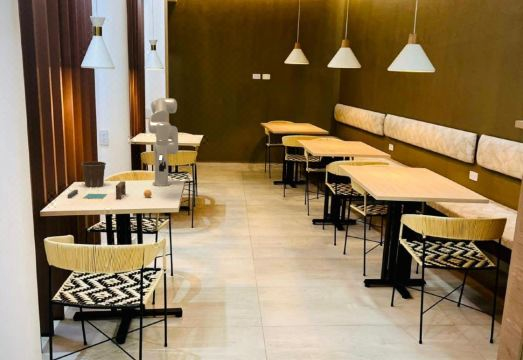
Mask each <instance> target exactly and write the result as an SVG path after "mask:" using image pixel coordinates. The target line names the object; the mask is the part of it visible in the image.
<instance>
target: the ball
mask: <svg viewBox="0 0 523 360" xmlns="http://www.w3.org/2000/svg"><path fill="white" fill-rule="evenodd" d="M152 194H153V192H152V190H150V189H145V190H144V192H143V196H144V197H145V198H147V199H148V198H150V197H152Z"/></svg>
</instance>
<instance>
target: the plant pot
mask: <svg viewBox="0 0 523 360" xmlns="http://www.w3.org/2000/svg"><path fill="white" fill-rule="evenodd" d="M106 165H107V163H106V162H105V161H85V162H82V163H81V167H82V170H83V171H82V172H83V173H82V174H83V178H84V186H85V187H86V186H87V187H86V188H90V187H92V188H91V189H93V187H97V188H99V187H100V188H102V187H104V180H105V170H106Z"/></svg>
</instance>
